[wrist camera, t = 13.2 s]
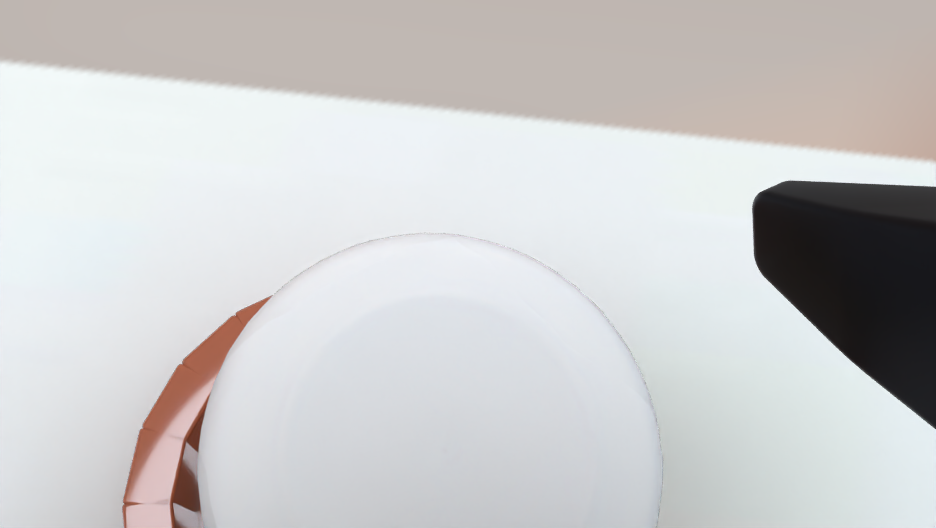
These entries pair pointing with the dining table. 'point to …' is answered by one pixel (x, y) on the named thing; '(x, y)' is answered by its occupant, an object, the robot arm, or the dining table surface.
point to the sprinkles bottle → (429, 400)
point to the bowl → (178, 437)
